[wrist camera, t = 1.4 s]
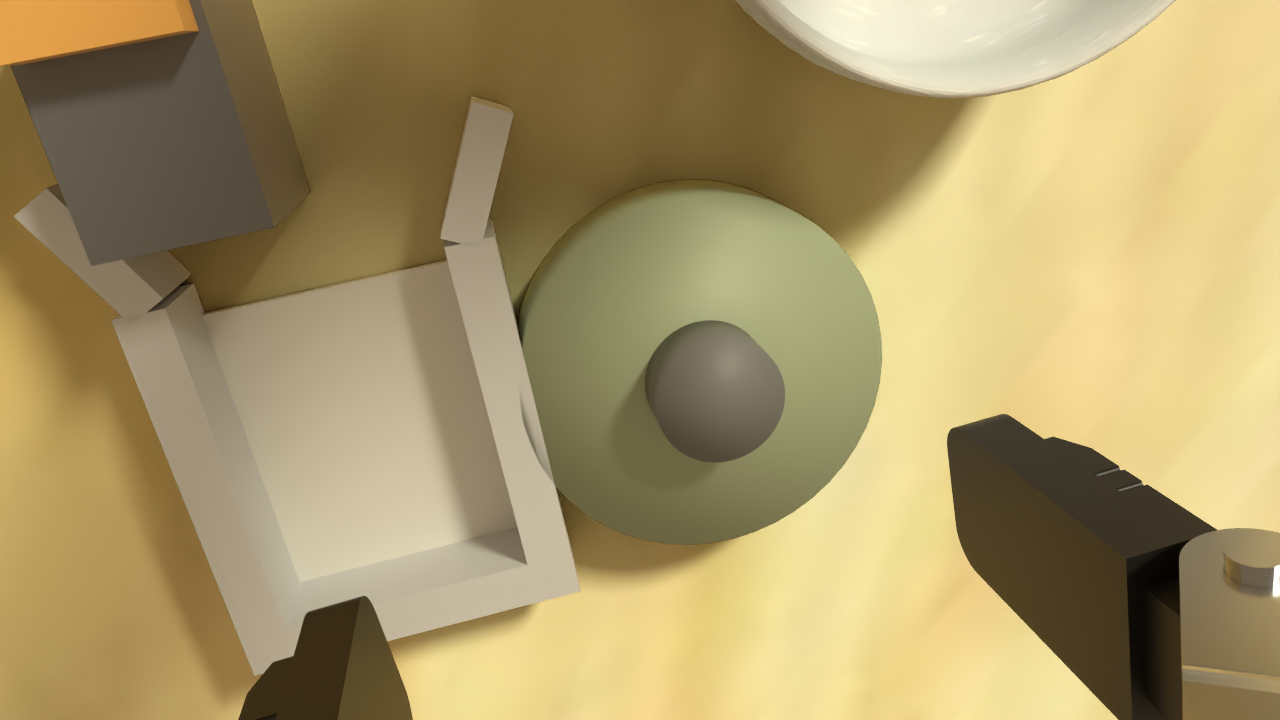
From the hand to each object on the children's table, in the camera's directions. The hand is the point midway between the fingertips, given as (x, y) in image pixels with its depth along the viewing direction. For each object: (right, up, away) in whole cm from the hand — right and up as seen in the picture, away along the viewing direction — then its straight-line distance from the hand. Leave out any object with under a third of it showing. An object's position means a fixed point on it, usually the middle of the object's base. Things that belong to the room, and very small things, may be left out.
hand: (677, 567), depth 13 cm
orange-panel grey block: (-14, +11, +15) cm, 23 cm away
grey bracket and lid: (-5, +3, +19) cm, 20 cm away
